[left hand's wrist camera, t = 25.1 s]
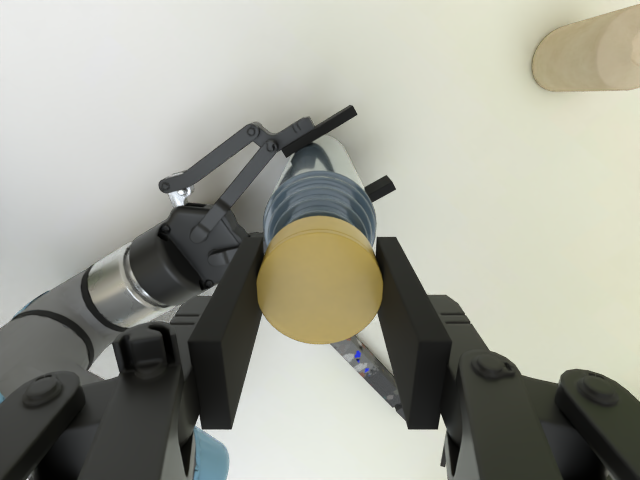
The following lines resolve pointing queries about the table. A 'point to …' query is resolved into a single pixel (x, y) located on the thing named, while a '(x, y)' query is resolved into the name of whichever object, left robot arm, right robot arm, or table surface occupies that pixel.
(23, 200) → the table surface
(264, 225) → the bottle
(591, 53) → the candle
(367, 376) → the pillar
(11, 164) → the table surface
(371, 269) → the cap
